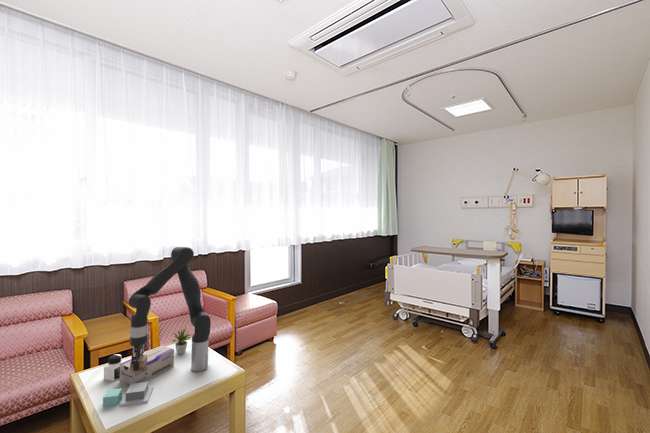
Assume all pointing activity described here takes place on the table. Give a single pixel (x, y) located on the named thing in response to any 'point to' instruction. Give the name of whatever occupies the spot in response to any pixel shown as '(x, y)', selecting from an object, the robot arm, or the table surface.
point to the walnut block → (140, 363)
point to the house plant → (181, 341)
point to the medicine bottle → (113, 368)
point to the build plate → (124, 403)
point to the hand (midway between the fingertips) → (137, 366)
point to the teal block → (112, 397)
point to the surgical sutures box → (148, 366)
